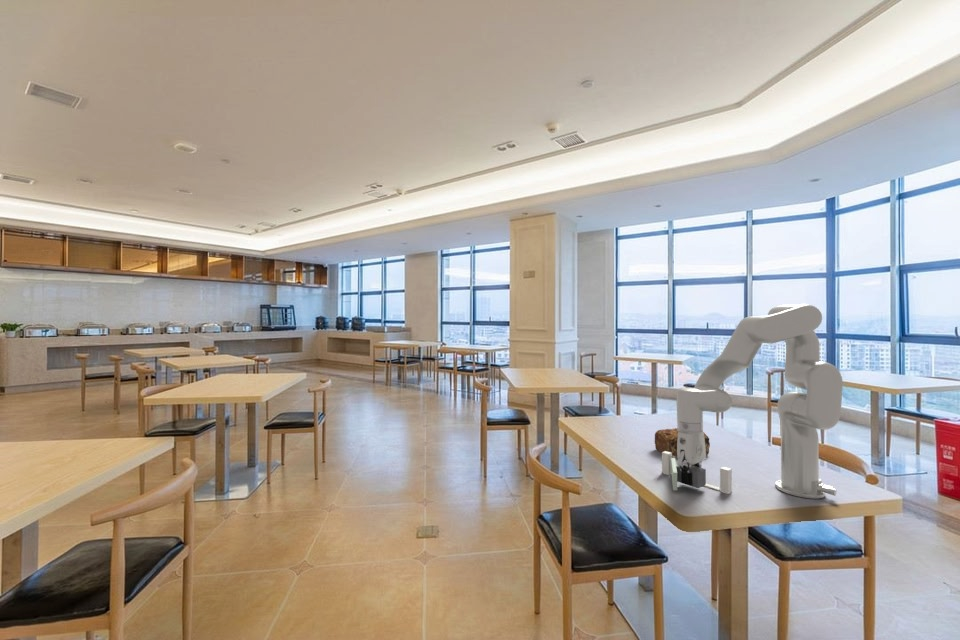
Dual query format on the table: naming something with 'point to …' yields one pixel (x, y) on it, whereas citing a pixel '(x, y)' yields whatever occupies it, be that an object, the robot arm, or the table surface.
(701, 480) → the block
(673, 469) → the door
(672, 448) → the bread
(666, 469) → the door frame
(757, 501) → the table surface
